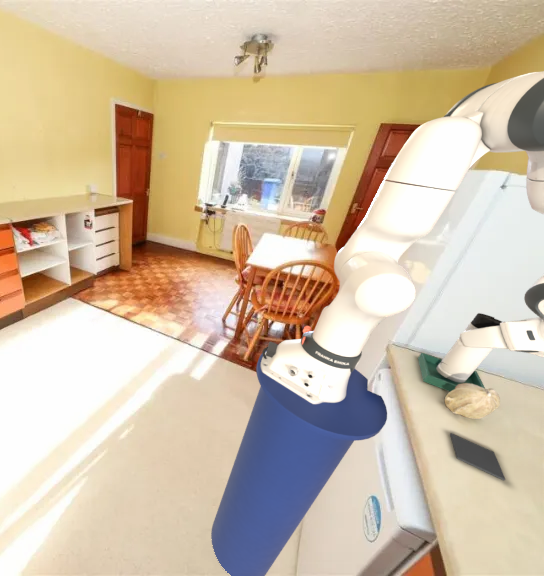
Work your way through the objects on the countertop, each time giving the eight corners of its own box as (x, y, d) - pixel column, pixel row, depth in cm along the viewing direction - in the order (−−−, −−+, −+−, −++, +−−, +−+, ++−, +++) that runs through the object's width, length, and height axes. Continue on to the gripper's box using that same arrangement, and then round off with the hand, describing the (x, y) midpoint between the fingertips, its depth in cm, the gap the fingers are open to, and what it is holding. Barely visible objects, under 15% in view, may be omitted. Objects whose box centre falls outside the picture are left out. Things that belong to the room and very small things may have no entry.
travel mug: (429, 368, 79) (471, 312, 70) (444, 365, 81) (486, 310, 72) (455, 385, 74) (504, 326, 65) (470, 381, 76) (519, 323, 67)
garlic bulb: (465, 414, 70) (502, 390, 66) (484, 437, 63) (526, 411, 59) (427, 390, 73) (460, 366, 69) (441, 409, 66) (479, 383, 62)
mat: (456, 458, 57) (458, 457, 57) (449, 434, 62) (450, 432, 62) (504, 480, 54) (505, 479, 53) (492, 453, 59) (493, 451, 58)
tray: (423, 381, 77) (427, 375, 76) (417, 358, 86) (421, 352, 85) (484, 405, 71) (490, 398, 70) (471, 377, 80) (476, 371, 79)
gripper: (580, 324, 62) (501, 332, 75) (501, 321, 60) (435, 329, 73) (592, 352, 60) (510, 355, 73) (511, 350, 58) (442, 353, 71)
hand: (472, 342), depth 73 cm, fingers closed on travel mug, 6 cm apart
